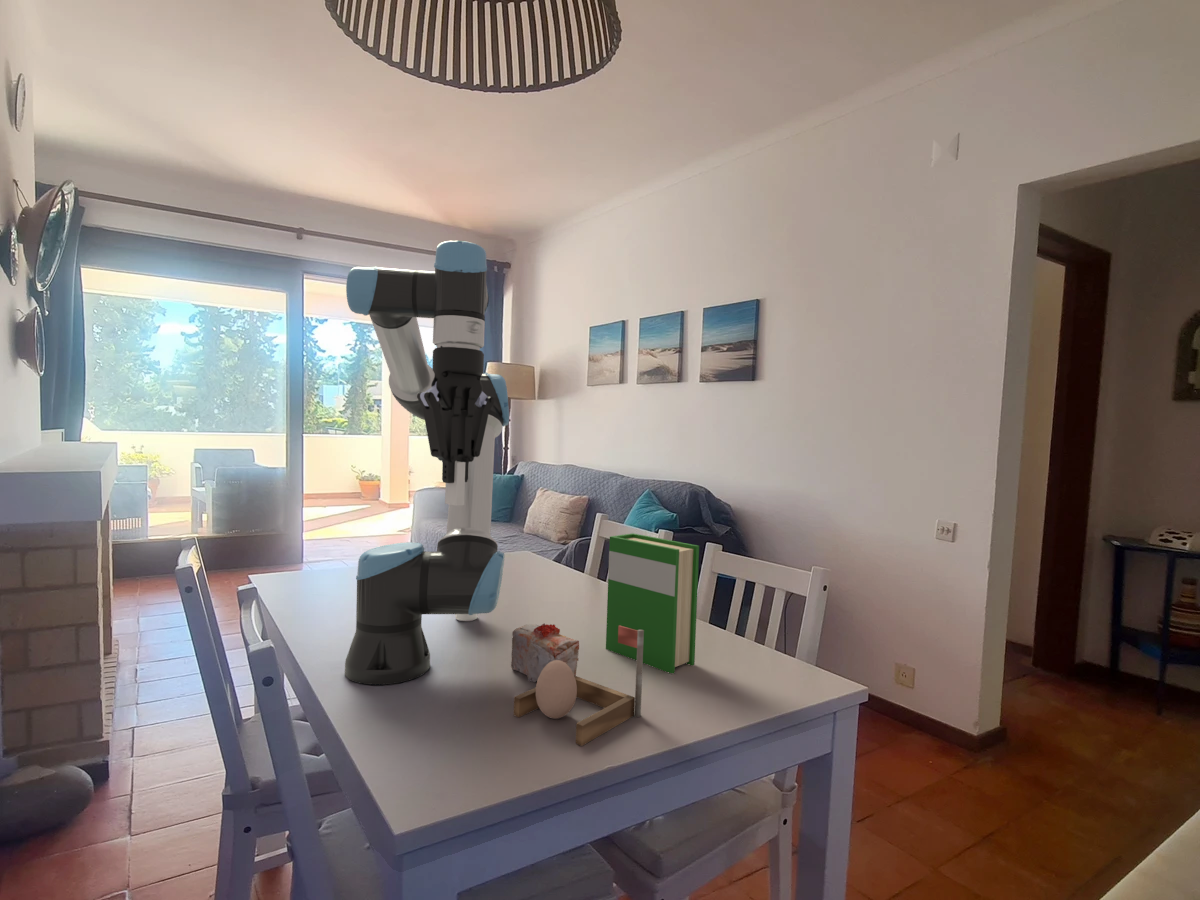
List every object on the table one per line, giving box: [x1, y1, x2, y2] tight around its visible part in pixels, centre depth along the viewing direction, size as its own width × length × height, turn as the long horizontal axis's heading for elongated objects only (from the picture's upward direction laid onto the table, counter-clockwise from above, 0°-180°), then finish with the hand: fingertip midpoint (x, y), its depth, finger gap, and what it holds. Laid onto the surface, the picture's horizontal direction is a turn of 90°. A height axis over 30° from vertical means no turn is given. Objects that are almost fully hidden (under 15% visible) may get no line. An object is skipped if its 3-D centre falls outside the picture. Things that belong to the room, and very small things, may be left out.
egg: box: [535, 660, 577, 720], centre depth 99 cm, size 7×7×9 cm
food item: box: [510, 623, 580, 683], centre depth 115 cm, size 14×8×10 cm, turn 47°
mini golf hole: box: [513, 626, 644, 747], centre depth 100 cm, size 15×14×14 cm
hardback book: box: [605, 532, 700, 674], centre depth 127 cm, size 18×7×24 cm, turn 45°
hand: (454, 504), depth 94 cm, fingers closed
